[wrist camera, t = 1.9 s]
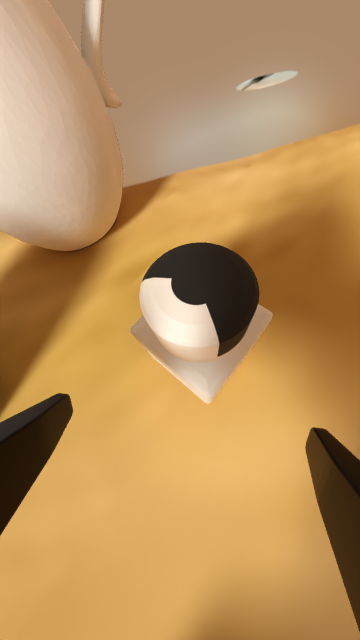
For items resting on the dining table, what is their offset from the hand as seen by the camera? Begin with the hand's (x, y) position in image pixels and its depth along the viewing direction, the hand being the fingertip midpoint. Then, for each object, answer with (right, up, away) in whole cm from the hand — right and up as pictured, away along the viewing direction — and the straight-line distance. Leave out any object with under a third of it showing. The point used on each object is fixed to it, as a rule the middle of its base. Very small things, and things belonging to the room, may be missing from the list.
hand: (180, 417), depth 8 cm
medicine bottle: (+2, +1, +14) cm, 14 cm away
